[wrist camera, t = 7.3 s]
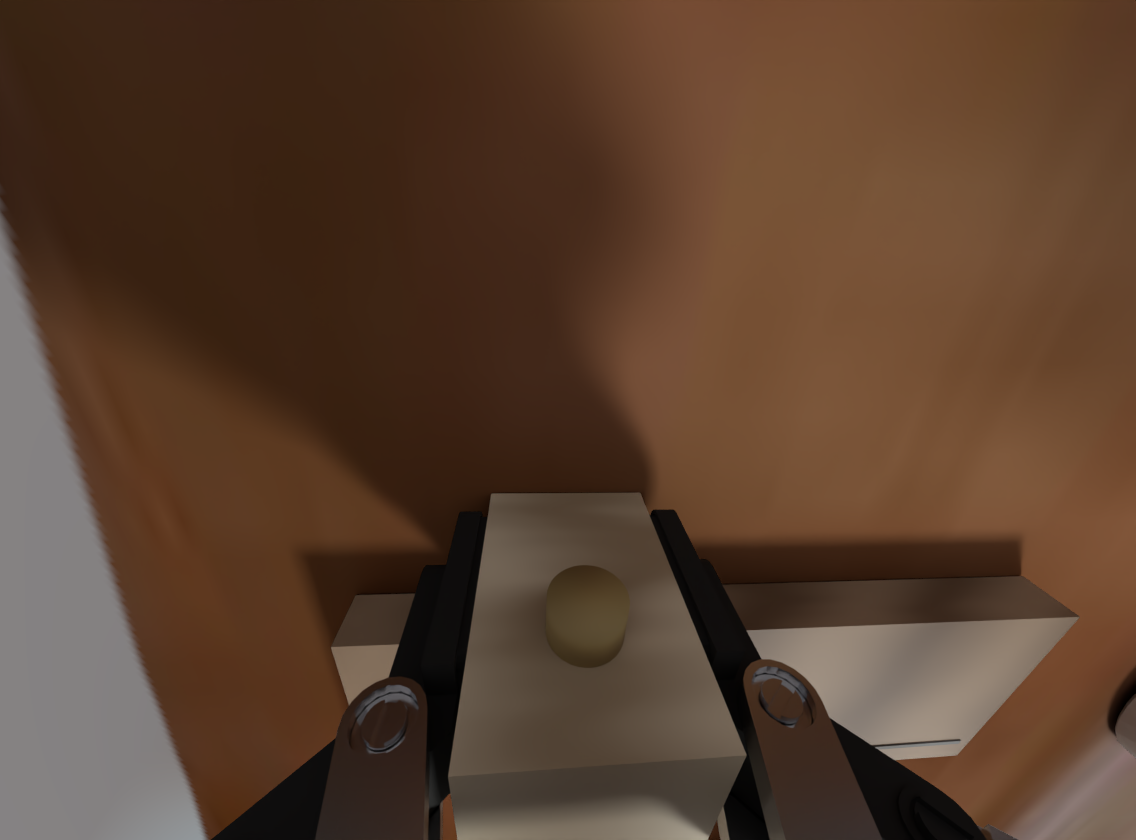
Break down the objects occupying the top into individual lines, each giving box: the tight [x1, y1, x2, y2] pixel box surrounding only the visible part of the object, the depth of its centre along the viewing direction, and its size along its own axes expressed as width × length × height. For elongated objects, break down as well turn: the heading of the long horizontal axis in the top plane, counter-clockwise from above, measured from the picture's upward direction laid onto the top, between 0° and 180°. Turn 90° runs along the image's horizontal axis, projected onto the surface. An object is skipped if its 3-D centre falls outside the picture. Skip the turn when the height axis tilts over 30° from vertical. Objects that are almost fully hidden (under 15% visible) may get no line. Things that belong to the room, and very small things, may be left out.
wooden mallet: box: [448, 493, 747, 840], centre depth 10 cm, size 4×13×6 cm, turn 177°
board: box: [331, 576, 1080, 794], centre depth 14 cm, size 22×8×2 cm, turn 87°
